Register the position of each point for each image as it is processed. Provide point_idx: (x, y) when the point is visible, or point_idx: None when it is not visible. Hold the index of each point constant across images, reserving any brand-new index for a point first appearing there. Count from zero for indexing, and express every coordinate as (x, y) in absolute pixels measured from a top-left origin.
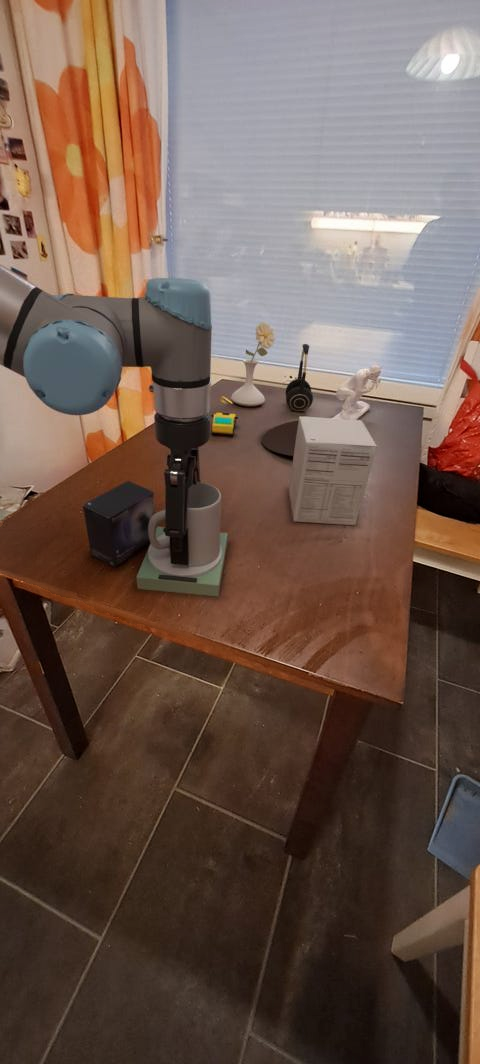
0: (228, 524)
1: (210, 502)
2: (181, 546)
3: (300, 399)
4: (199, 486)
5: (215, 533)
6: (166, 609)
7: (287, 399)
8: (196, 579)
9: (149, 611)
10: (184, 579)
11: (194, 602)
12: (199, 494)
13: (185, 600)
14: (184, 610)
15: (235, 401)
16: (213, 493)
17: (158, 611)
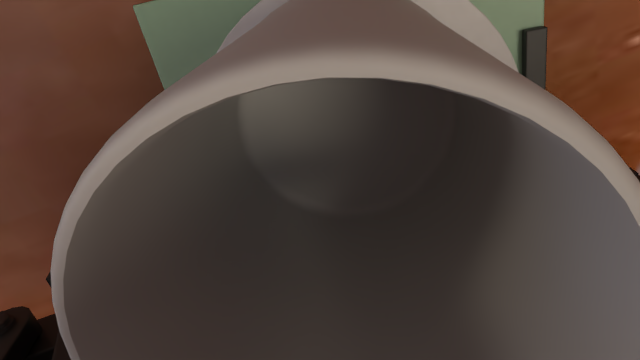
0: (28, 42)
1: (168, 160)
2: (632, 169)
3: None
4: (114, 333)
5: (407, 7)
6: (607, 95)
7: None
8: (538, 30)
9: (620, 144)
10: (543, 82)
11: (562, 8)
12: (154, 274)
13: (554, 47)
14: (610, 30)
15: None
16: (129, 183)
17: (619, 117)
